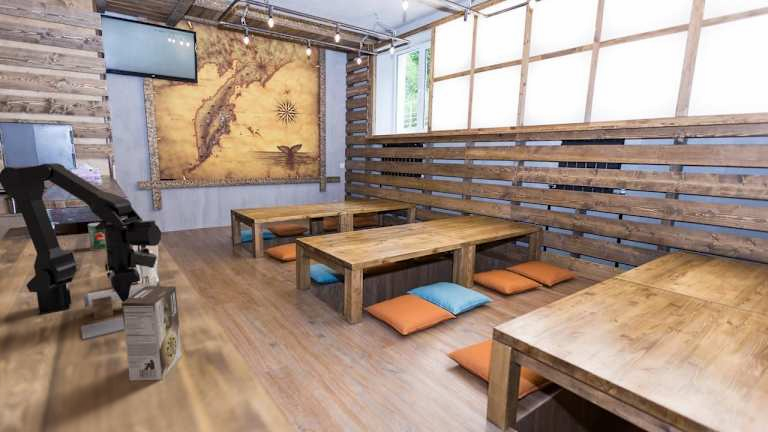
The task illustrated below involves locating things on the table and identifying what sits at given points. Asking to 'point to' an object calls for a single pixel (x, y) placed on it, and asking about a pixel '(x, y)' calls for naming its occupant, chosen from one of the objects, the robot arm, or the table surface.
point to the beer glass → (146, 272)
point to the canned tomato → (96, 237)
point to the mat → (102, 328)
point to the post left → (102, 308)
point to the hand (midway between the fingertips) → (124, 299)
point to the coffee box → (151, 332)
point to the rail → (114, 293)
